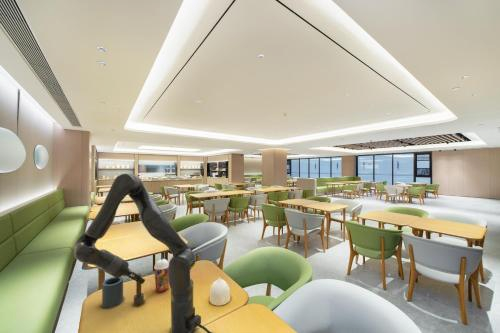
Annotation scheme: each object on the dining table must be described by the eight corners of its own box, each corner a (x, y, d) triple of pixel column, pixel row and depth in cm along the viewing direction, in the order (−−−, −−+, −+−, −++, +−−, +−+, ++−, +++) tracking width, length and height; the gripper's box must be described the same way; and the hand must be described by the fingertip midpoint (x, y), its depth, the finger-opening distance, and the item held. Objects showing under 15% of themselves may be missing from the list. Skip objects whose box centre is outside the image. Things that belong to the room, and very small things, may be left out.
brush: (145, 302, 110) (145, 273, 110) (136, 307, 106) (136, 277, 106) (140, 299, 112) (140, 271, 112) (131, 304, 108) (131, 274, 108)
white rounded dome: (233, 301, 110) (233, 278, 110) (213, 308, 105) (213, 283, 105) (225, 290, 120) (225, 269, 120) (206, 296, 115) (206, 273, 115)
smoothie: (164, 294, 116) (164, 258, 116) (150, 292, 118) (150, 256, 118) (172, 286, 124) (172, 252, 124) (160, 284, 126) (160, 251, 126)
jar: (126, 300, 111) (126, 279, 111) (107, 310, 103) (107, 287, 103) (118, 295, 116) (117, 274, 116) (99, 303, 108) (99, 282, 109)
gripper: (128, 261, 98) (151, 276, 107) (113, 254, 106) (136, 268, 115) (116, 278, 93) (141, 291, 103) (101, 269, 101) (126, 282, 111)
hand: (139, 279), depth 109 cm, fingers open, 8 cm apart
